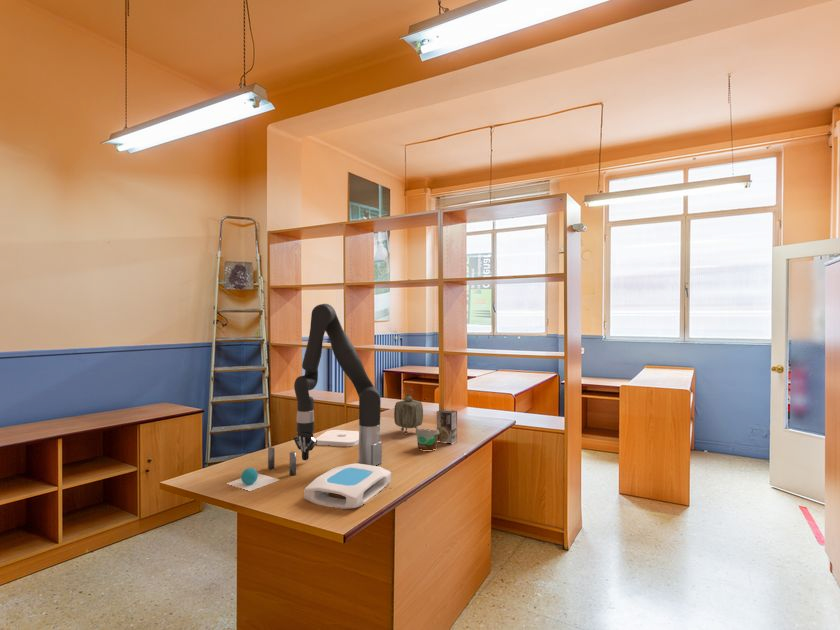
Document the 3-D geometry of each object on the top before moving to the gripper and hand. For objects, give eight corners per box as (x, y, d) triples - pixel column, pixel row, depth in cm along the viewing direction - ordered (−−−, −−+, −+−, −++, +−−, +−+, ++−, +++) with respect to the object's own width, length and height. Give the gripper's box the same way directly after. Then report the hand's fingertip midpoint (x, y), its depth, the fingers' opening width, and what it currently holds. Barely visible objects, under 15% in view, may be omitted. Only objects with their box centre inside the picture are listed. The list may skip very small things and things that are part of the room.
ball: (245, 481, 168) (255, 488, 172) (254, 466, 171) (263, 473, 175) (234, 478, 171) (244, 485, 175) (244, 463, 174) (253, 470, 178)
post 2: (297, 474, 184) (297, 452, 184) (292, 476, 182) (292, 453, 182) (292, 473, 185) (293, 451, 185) (288, 475, 183) (288, 452, 183)
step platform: (302, 502, 157) (303, 484, 157) (345, 476, 183) (345, 461, 183) (355, 512, 149) (355, 493, 149) (391, 483, 175) (392, 467, 175)
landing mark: (279, 480, 177) (279, 479, 177) (249, 491, 166) (249, 491, 166) (256, 473, 185) (256, 472, 185) (226, 483, 173) (226, 483, 173)
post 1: (275, 468, 191) (275, 447, 191) (270, 470, 189) (270, 448, 189) (271, 467, 192) (271, 446, 192) (266, 469, 190) (266, 447, 190)
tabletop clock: (423, 433, 251) (423, 388, 251) (414, 436, 243) (414, 390, 243) (401, 429, 259) (401, 386, 259) (392, 432, 251) (392, 388, 251)
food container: (411, 450, 218) (411, 429, 218) (416, 446, 224) (416, 426, 224) (435, 453, 214) (435, 432, 214) (439, 449, 219) (439, 429, 220)
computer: (353, 448, 223) (353, 442, 223) (312, 445, 227) (312, 440, 227) (367, 436, 244) (367, 431, 244) (329, 434, 249) (329, 429, 249)
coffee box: (457, 442, 233) (457, 410, 233) (451, 444, 228) (451, 413, 228) (442, 439, 238) (442, 408, 238) (436, 442, 233) (436, 410, 233)
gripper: (322, 420, 198) (322, 460, 198) (301, 417, 205) (301, 455, 205) (309, 424, 191) (309, 464, 191) (288, 420, 199) (288, 459, 198)
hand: (305, 459), depth 198 cm, fingers closed
